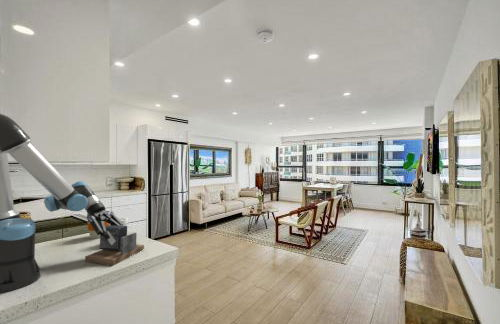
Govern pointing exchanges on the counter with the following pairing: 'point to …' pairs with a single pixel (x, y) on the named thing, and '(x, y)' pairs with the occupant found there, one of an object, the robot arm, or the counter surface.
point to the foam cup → (124, 221)
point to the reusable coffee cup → (91, 229)
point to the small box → (117, 235)
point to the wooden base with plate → (116, 252)
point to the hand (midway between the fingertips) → (119, 240)
